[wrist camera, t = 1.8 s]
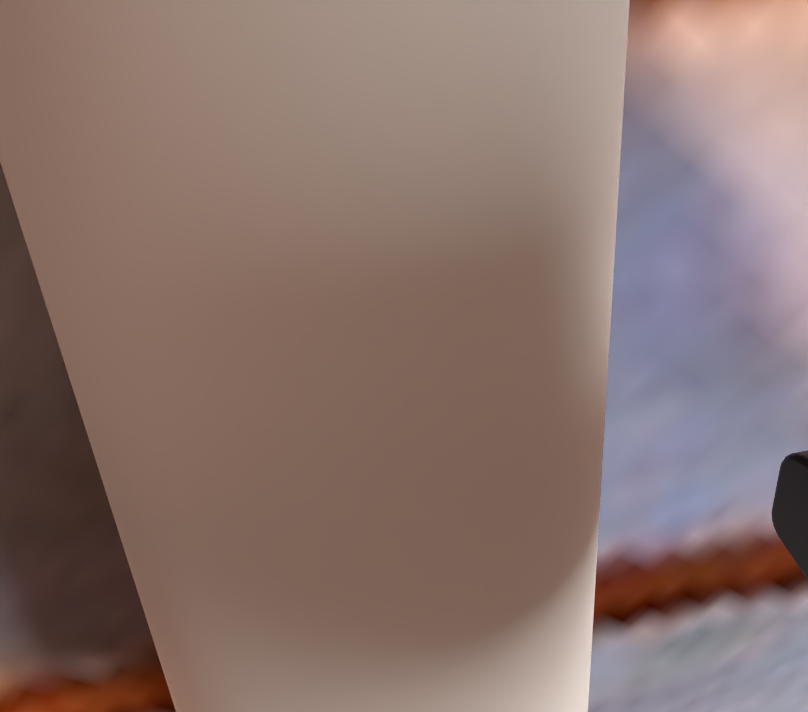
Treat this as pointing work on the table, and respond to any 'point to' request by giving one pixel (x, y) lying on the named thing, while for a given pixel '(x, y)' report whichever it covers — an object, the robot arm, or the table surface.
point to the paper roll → (335, 329)
